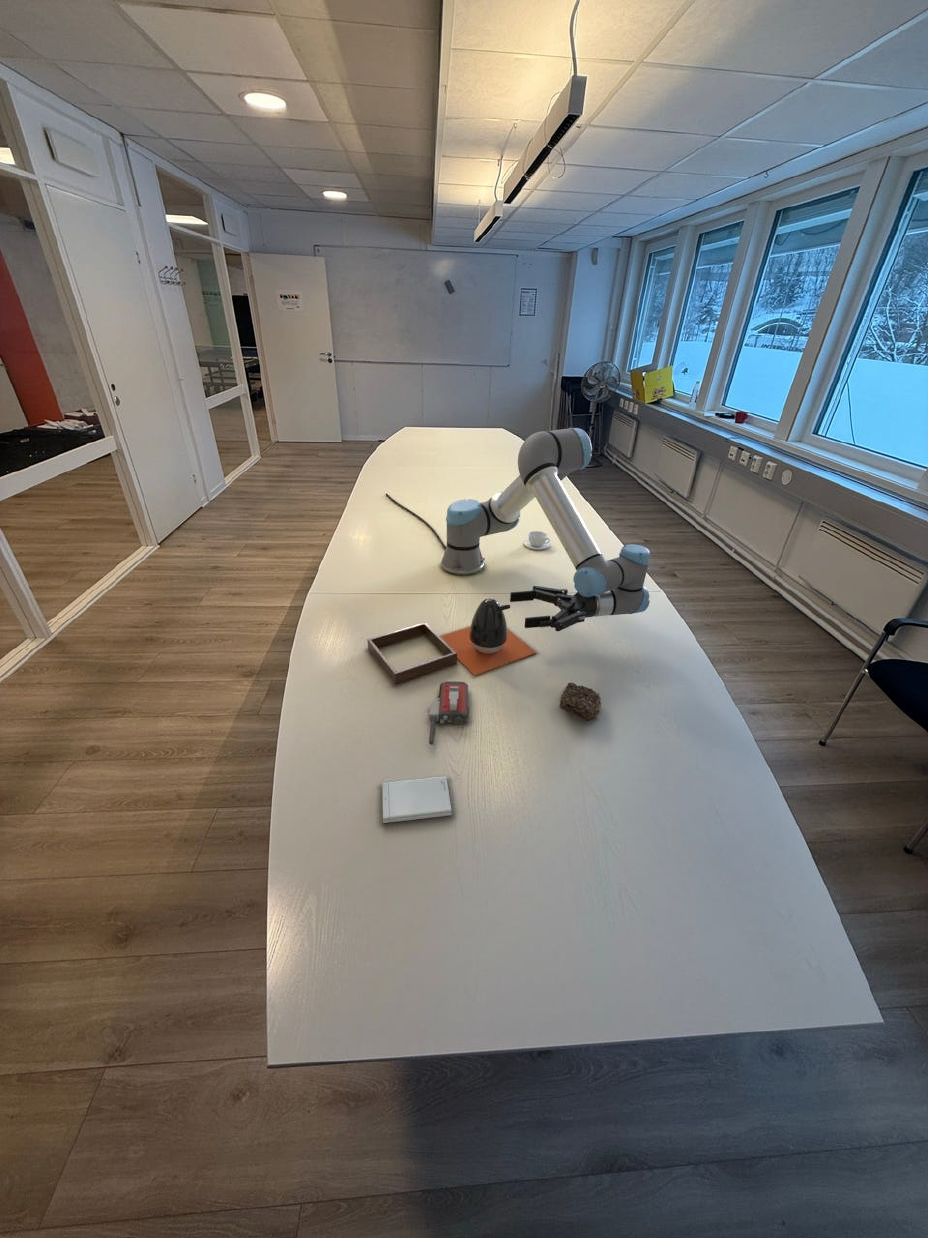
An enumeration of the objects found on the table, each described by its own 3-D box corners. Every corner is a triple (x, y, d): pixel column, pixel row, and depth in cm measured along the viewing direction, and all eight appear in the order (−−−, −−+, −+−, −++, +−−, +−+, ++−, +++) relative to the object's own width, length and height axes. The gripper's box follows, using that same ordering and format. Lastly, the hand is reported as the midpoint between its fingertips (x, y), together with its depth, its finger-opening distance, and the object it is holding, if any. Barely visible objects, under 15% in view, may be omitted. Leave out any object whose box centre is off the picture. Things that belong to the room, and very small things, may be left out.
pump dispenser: (504, 661, 132) (508, 612, 124) (465, 656, 133) (467, 607, 126) (509, 640, 140) (513, 592, 132) (472, 635, 142) (474, 588, 134)
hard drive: (446, 775, 98) (382, 781, 96) (451, 810, 91) (382, 818, 89) (446, 781, 98) (382, 787, 97) (451, 816, 91) (383, 824, 90)
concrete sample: (591, 731, 111) (595, 713, 108) (549, 713, 115) (552, 697, 113) (608, 702, 119) (612, 685, 117) (568, 687, 124) (571, 671, 121)
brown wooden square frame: (368, 649, 136) (367, 639, 134) (425, 632, 144) (425, 622, 142) (395, 685, 123) (394, 674, 121) (456, 664, 131) (457, 653, 129)
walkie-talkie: (432, 687, 123) (426, 748, 106) (432, 673, 120) (425, 733, 103) (468, 688, 123) (467, 749, 106) (468, 674, 120) (468, 734, 103)
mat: (436, 638, 141) (436, 637, 141) (494, 620, 150) (494, 618, 150) (474, 676, 127) (474, 675, 127) (536, 653, 136) (536, 652, 136)
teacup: (521, 547, 197) (522, 536, 195) (528, 539, 205) (529, 528, 202) (545, 552, 194) (547, 541, 192) (551, 543, 202) (553, 532, 199)
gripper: (610, 639, 128) (530, 647, 124) (573, 593, 149) (504, 599, 145) (615, 614, 124) (533, 622, 120) (576, 570, 145) (506, 575, 141)
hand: (517, 609), depth 132 cm, fingers open, 13 cm apart
